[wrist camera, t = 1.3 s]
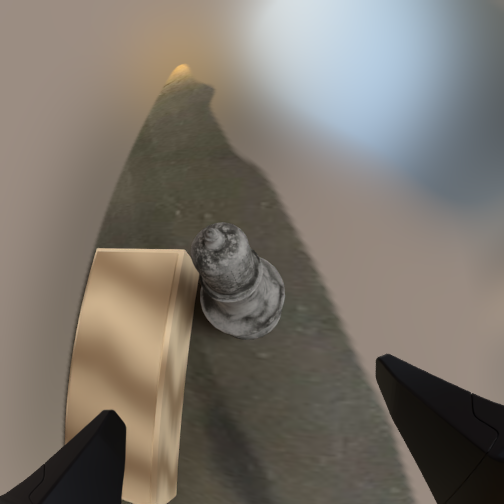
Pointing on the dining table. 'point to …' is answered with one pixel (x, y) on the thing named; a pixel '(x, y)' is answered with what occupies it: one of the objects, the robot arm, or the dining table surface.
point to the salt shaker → (236, 283)
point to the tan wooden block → (136, 360)
